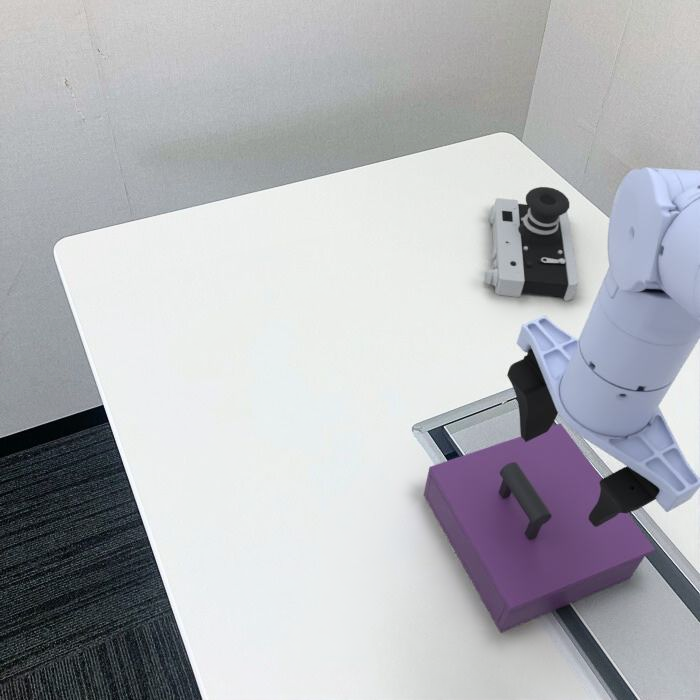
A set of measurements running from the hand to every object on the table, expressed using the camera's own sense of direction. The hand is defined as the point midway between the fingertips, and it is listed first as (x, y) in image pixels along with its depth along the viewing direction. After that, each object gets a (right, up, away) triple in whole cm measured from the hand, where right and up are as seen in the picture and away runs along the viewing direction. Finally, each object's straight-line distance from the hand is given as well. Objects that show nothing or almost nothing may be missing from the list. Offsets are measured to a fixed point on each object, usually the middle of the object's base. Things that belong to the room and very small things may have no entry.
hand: (566, 473), depth 54 cm
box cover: (0, -4, +7) cm, 8 cm away
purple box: (-1, -7, +10) cm, 12 cm away
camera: (+5, +20, +36) cm, 41 cm away
